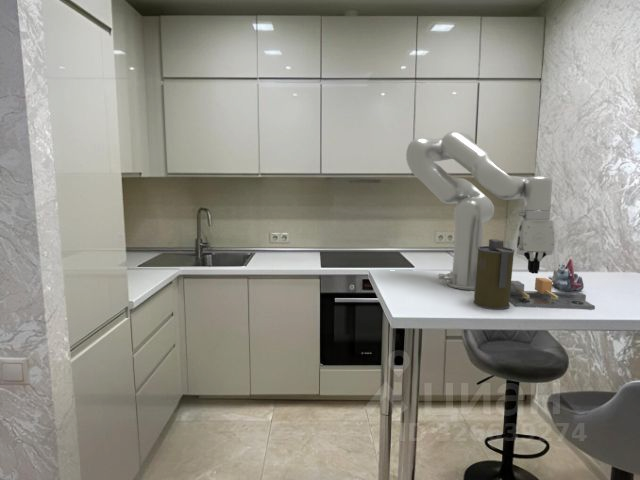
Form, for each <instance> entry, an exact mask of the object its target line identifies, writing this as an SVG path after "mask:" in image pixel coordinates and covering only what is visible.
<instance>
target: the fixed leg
mask: <svg viewBox="0 0 640 480" xmlns="http://www.w3.org/2000/svg"><path fill="white" fill-rule="evenodd" d="M510 291H511V292H513V293H514V294H522V295H523V300H526V298H530V295H528V294H527V293H525V292H524V291H525V284H524V283H522V282H521V281H519V280H511V289H510Z"/></svg>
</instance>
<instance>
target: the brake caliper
mask: <svg viewBox="0 0 640 480" xmlns="http://www.w3.org/2000/svg"><path fill="white" fill-rule="evenodd" d="M565 265H566V266H565ZM574 271H575V268H574V262H573V259H572V258H569V259H568V262H567V263H566V264H564V263H562V264H560V263H559V264H558V268H556V269H554V270H553V273H552V275H550V276H548V280H550V281H552V287H554V286H555V288H558V289H559V290H560V291H561V292H571V293H581V291H582V290H584V287H585V285H584V284H585V283H584V282H583V277H582V276H578V275H579V274H578V273H575V272H574Z"/></svg>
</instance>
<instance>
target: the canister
mask: <svg viewBox="0 0 640 480" xmlns="http://www.w3.org/2000/svg"><path fill="white" fill-rule="evenodd" d="M477 249H478V259H477V271H476V283H475V290H474V295H473V296H474V299H473V304H474V305H476V306H477V307H481V308H483V309H488V310H497V311H498V310H506V309H510V306H511V305H510V301H509V300H510V289H511V281H512V278H513V277H512V275H513V265H514V255H515V249H513V248H509V247H504V240H500V239H491V238H490V239H488V245H483V246H481V247H478V248H477Z"/></svg>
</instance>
